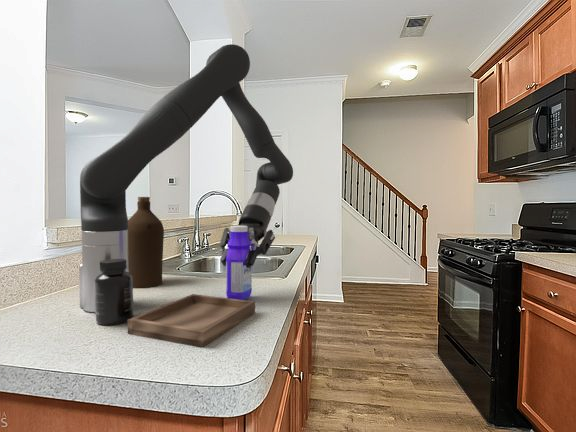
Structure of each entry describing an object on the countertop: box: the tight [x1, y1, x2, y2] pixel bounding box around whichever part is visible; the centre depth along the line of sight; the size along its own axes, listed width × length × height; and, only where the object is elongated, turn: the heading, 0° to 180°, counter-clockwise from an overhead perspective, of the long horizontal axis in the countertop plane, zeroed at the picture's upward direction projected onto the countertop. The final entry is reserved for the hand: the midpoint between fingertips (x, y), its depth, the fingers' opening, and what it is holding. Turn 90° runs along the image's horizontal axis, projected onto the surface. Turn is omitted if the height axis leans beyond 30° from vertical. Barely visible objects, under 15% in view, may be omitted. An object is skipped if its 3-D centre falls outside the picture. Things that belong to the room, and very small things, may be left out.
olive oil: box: [128, 196, 165, 289], centre depth 99 cm, size 11×11×25 cm
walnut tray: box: [127, 293, 256, 348], centre depth 69 cm, size 16×19×2 cm
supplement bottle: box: [94, 259, 135, 326], centre depth 69 cm, size 7×7×12 cm
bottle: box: [225, 225, 253, 300], centre depth 84 cm, size 7×6×17 cm
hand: (235, 264), depth 83 cm, fingers closed on bottle, 5 cm apart
